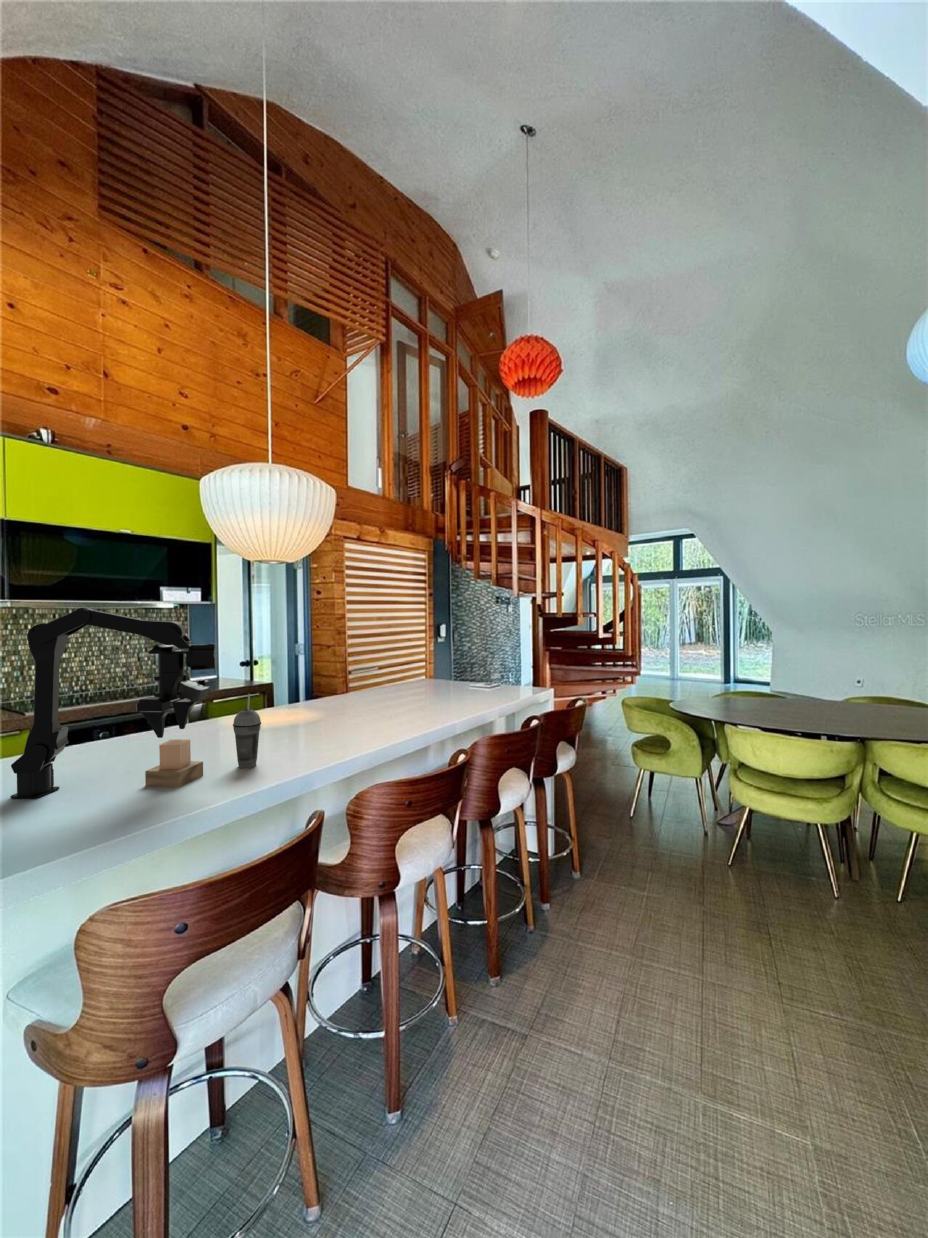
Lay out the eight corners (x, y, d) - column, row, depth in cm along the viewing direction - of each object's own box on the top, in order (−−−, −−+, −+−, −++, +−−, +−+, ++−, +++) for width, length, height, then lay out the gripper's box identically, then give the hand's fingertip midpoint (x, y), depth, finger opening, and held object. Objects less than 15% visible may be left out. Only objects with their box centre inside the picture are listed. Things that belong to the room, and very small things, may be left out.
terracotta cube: (180, 768, 126) (179, 744, 126) (159, 769, 126) (159, 745, 126) (190, 762, 131) (190, 739, 131) (170, 762, 131) (170, 739, 131)
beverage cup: (253, 760, 145) (252, 690, 145) (266, 765, 141) (266, 693, 140) (227, 766, 140) (227, 693, 139) (241, 771, 135) (240, 696, 135)
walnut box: (179, 789, 123) (179, 772, 123) (145, 787, 124) (145, 771, 124) (203, 776, 132) (203, 761, 132) (171, 775, 133) (171, 760, 133)
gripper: (181, 676, 119) (181, 743, 119) (221, 667, 137) (221, 725, 138) (134, 676, 119) (134, 742, 119) (180, 667, 138) (180, 724, 138)
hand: (171, 733), depth 128 cm, fingers open, 9 cm apart
